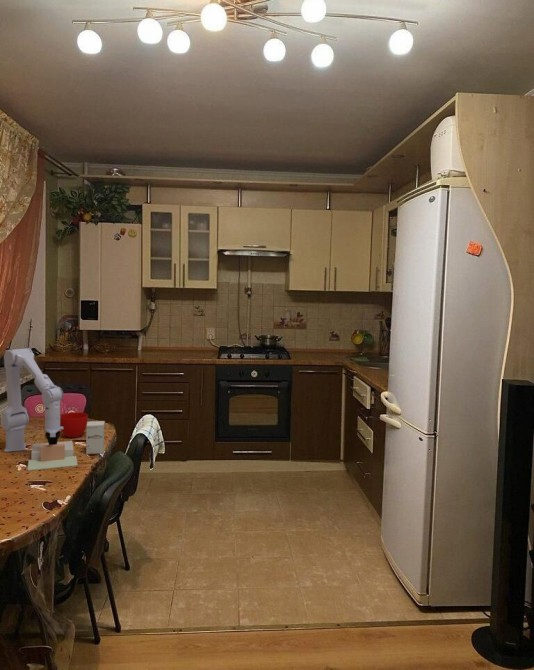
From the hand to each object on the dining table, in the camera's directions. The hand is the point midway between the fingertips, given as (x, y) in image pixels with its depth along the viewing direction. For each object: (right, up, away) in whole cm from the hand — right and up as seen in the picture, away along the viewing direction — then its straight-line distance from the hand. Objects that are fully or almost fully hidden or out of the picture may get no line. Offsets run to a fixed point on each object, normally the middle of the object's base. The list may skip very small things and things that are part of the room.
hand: (52, 449), depth 209 cm
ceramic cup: (-4, -1, +35) cm, 35 cm away
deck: (-3, -3, +6) cm, 8 cm away
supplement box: (+14, -4, +11) cm, 18 cm away
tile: (+1, 0, -2) cm, 2 cm away
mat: (+2, -4, -6) cm, 7 cm away
